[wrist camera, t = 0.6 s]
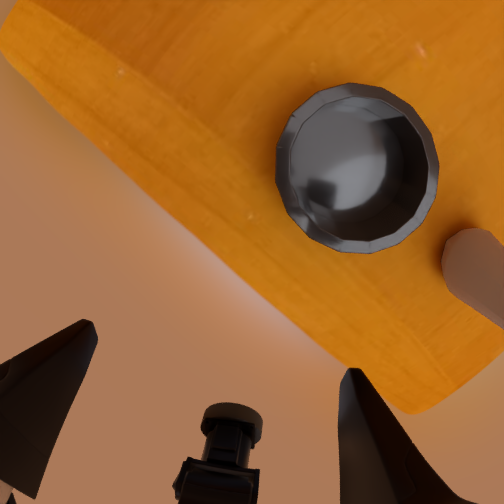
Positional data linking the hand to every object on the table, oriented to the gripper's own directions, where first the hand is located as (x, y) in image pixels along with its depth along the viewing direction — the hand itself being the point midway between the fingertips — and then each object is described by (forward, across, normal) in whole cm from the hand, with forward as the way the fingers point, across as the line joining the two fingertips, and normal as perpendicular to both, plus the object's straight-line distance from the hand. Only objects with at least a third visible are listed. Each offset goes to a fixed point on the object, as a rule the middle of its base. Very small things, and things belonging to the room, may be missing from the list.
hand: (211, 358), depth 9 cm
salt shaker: (+13, -17, 0) cm, 22 cm away
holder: (+14, -6, -4) cm, 16 cm away
